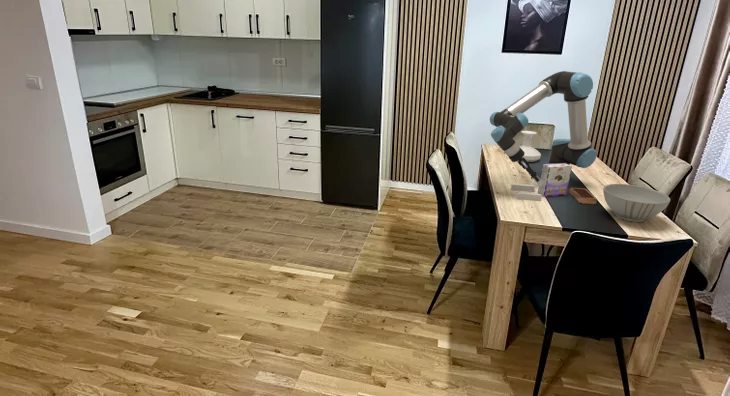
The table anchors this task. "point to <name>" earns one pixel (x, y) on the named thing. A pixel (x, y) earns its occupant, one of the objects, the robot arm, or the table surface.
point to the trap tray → (583, 196)
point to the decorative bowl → (634, 201)
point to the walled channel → (526, 195)
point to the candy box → (555, 179)
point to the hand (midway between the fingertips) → (541, 184)
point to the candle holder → (529, 147)
